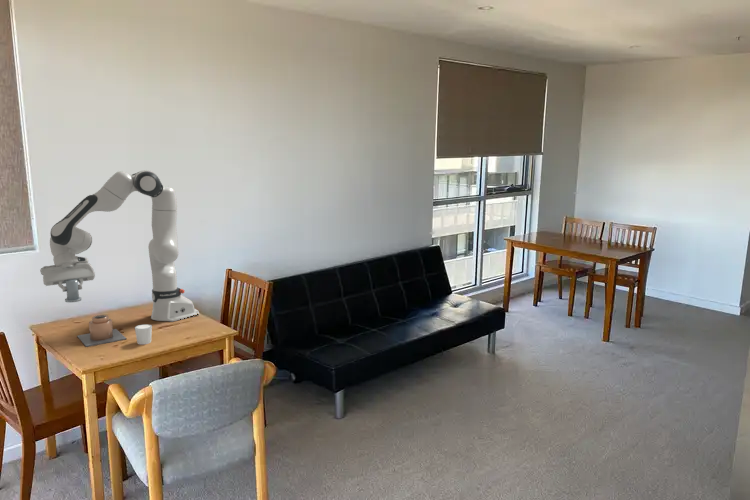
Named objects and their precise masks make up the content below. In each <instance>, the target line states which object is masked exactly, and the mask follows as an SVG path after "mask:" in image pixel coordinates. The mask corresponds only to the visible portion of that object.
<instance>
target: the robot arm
mask: <svg viewBox="0 0 750 500" xmlns="http://www.w3.org/2000/svg"><path fill="white" fill-rule="evenodd" d="M134 192H138V193H140V194H142V195H145V196H148V197H150V198H151V202H152V203H151V204H152V205H151V230H152V239H151V240H150V241H149V243H148V255H149V262H150V269H151V277H152V278H151V279H152V290H151V292H152V293H151V299H152V311H151V316H150V319H151V320H153V321H158V322H177V321H180V319H181V320H184V318H185V319H188V318H187V317H189V318H191V317H190V316H193V315H197V313H198V314H199V315H200V312H199V310H198V309H196V308H195V306H194V303H193V301H192V300H191V299H189V298H187V297H186V296H185V295H184V293H185V292H186V291H185V290H184V289H183V288H179V287H178V282H177V281H178V280H177V279H178V278H177V277H178V276H177V270H176V265H175V261H177V259H178V257H179V243H178V232H177V215H178V213H177V212H178V211H177V210H178V208H177V207H178V205H177V203H178V202H177V195H176V191H175V189H173V187H170V186H169V185H168V186H167V185H166V186H165V185H163V184H162V182H161V179H160V178H159V176H157V174H156V173H155V172H153V171H151V170H147V169H146V170H140V171H138V172H136V173H133V174H130V173H128V172H127V171H123V170H121V171H119V170H118V171H117V172H115V173H114V174H113V175H112V176H111V177H109V179H108V180H107V181H105V182H104V184H103V186H102V187H101V188H100V189H99V190H98V191H96V192H95V193H92V194H89V195H87V196H86V197H84V198H83V199H82V200H81V201H80V202H79V203H77V205H76V206H74V207H73V209H72V210H71V211H69V212H68V214H66V215H65V216H64V217H63V218H62V219H61V220H58V222H56V223H55V224H54V225H52V227H51V229H50V233H49V234H50V238H49V246H50V252H51V254H52V256H53V264H54V265H53V264H52V265H45V266H43V267H42V268H40V269H39V270H40V275H42V281H43V285H44V286H45V287H47V286H55V285H57V287H59V288H60V289H61V290H62V293H63V292H66V293H67V287H66V280H72V279H77V280H78V291H79V290H81V291H82V290H83V284H84V282H87V281H89V282H90V281H94V279H95V277H96V272H95V271H94V267H93V265H92V264H90V263H89V258H87V257H86V256H85V257H83V256H79V255H78V254H81V253H83V252H85V251H87V250H88V249H90V247H91V245H92V244H93V236H92V235H91V233H90V232H88V231H86V230H84V229H82V228H79V227H77V226H78V225H79V223H80V222H81V221H83V220H84V218H86V217H87V216H88V215H90V213H94V212H104V213H105V212H109V213H110V212H115V211H117V210H118V209H119V208H121V206H122V204H124V202H125V201H126V200H127V198H128V197H129V196H130V195H131V194H132V193H134ZM197 316H198V315H197ZM193 317H194V316H193Z"/></svg>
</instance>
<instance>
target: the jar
mask: <svg viewBox="0 0 750 500" xmlns="http://www.w3.org/2000/svg"><path fill="white" fill-rule="evenodd" d="M88 327H89V333H84V334H79V335H77V336H76V337H77V338H78V339H79V341H80V342H82V344H83V345H84V346H85V348H88V347H93V346H98V345H104V344H109V343H115V342H119V341H121V342H122V341H126V340H127V337H126V336H125V335H123V333H121V332H120V331H119V330H118V329H117V328H113V319H111V318H109V315H107V314H98V315H93V316H92V317H91V320H89V322H88Z"/></svg>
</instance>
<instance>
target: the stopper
mask: <svg viewBox="0 0 750 500" xmlns="http://www.w3.org/2000/svg"><path fill="white" fill-rule="evenodd" d="M78 285H79V282H78V280H77V279H72V280H66V284H65V286H66V287H67V291H66V298H64V302H65V303H79V302H81V301H82V297H81V296H80V293H79V290H78Z"/></svg>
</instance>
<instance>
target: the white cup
mask: <svg viewBox="0 0 750 500" xmlns="http://www.w3.org/2000/svg"><path fill="white" fill-rule="evenodd" d="M152 329H153V325H152V324H139V325H136V326H135V327H134V331H135V337H136V342H137V343H136V344H138V345H141V346H142V345H143V346H144V345H148V344H150V343H151V342H152V337H153V336H152V333H153V332H152Z"/></svg>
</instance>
